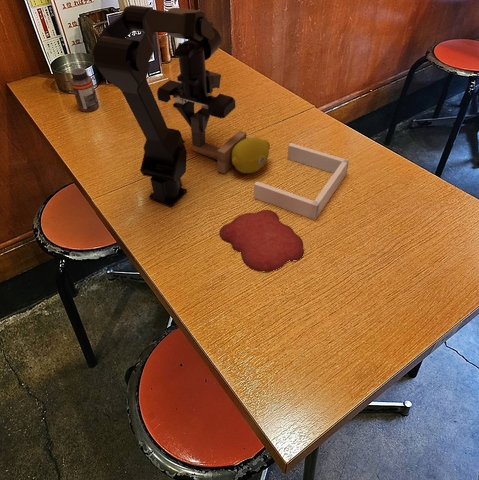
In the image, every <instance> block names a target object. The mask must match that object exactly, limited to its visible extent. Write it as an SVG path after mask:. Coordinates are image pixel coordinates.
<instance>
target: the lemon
mask: <svg viewBox="0 0 479 480" xmlns="http://www.w3.org/2000/svg"><path fill="white" fill-rule="evenodd" d="M270 148H271V145H270V142H269V141H268V140H266V139H262V138H260V137H259V138H258V137H249V138H247V137H246V139H244V140H242V141H240V142H239V143H238V144H236V145H235V147H234V148H233V150H232V164H233V167H234V168H235V170H237V171H239V172H240V173H242V174H252V173H255V172H257V171H259V170H260V169H261V168H262V167H264V165H266V162H267V161H268V159H269V155H270V153H269V152H270V150H271V149H270Z"/></svg>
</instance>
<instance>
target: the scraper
mask: <svg viewBox="0 0 479 480" xmlns="http://www.w3.org/2000/svg"><path fill="white" fill-rule="evenodd" d="M190 129H191V131H190V132H191V142H192V143H191V150H192V151H194V152H196V153H199V154H201V155H204V156H206V157H209V158H211V159H214V160H216V161H217V164H216V165H217V167H216V168H217V169H216V170H217V172H219V173H222V174H226V173H227V172H228V171H229V170H230V169H231V168H232V167H234V165H233V164H232V150H233V148H234V147H235V145H236V144H238V143H239V142H240V141H242V140H244V139H247V132H245V131H242V130H238V131H237V132H236V133H235V134H234V135H232V137H230V139H228V140H227V141H226V142H225V143H224V144H222V146H221V147H220V146H217V145H214V144H212V143H209V142H206V130H205V131H204V132H202V131H201V129H200V125H199V122H198V118H197V114H196V112H195V114H193V115H192V116H191V127H190Z"/></svg>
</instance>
